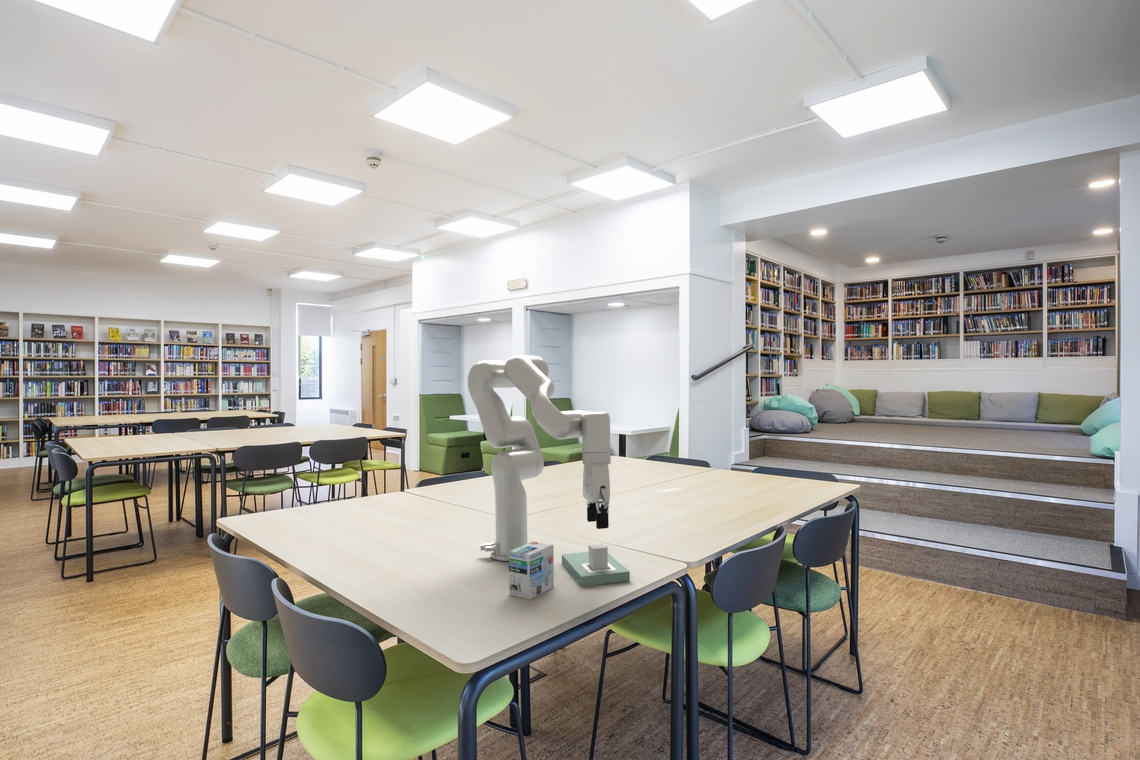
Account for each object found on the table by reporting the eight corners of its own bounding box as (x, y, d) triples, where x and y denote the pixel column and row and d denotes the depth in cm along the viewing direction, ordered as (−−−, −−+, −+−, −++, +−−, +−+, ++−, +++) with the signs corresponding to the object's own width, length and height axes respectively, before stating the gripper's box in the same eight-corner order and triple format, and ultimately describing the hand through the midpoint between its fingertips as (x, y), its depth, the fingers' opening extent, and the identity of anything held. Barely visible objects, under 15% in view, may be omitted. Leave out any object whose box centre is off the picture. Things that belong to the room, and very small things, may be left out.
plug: (593, 579, 146) (593, 548, 146) (589, 574, 150) (588, 544, 150) (609, 577, 147) (608, 547, 148) (604, 573, 151) (604, 543, 151)
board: (581, 586, 141) (581, 576, 141) (561, 563, 160) (561, 554, 161) (629, 581, 145) (629, 571, 145) (604, 558, 164) (604, 550, 164)
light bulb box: (530, 600, 133) (529, 554, 133) (507, 595, 136) (507, 550, 136) (555, 586, 142) (554, 543, 142) (533, 582, 145) (532, 540, 145)
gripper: (574, 455, 157) (575, 518, 156) (592, 462, 140) (594, 534, 140) (599, 453, 159) (600, 516, 158) (621, 461, 142) (622, 531, 141)
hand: (597, 524), depth 149 cm, fingers open, 7 cm apart
